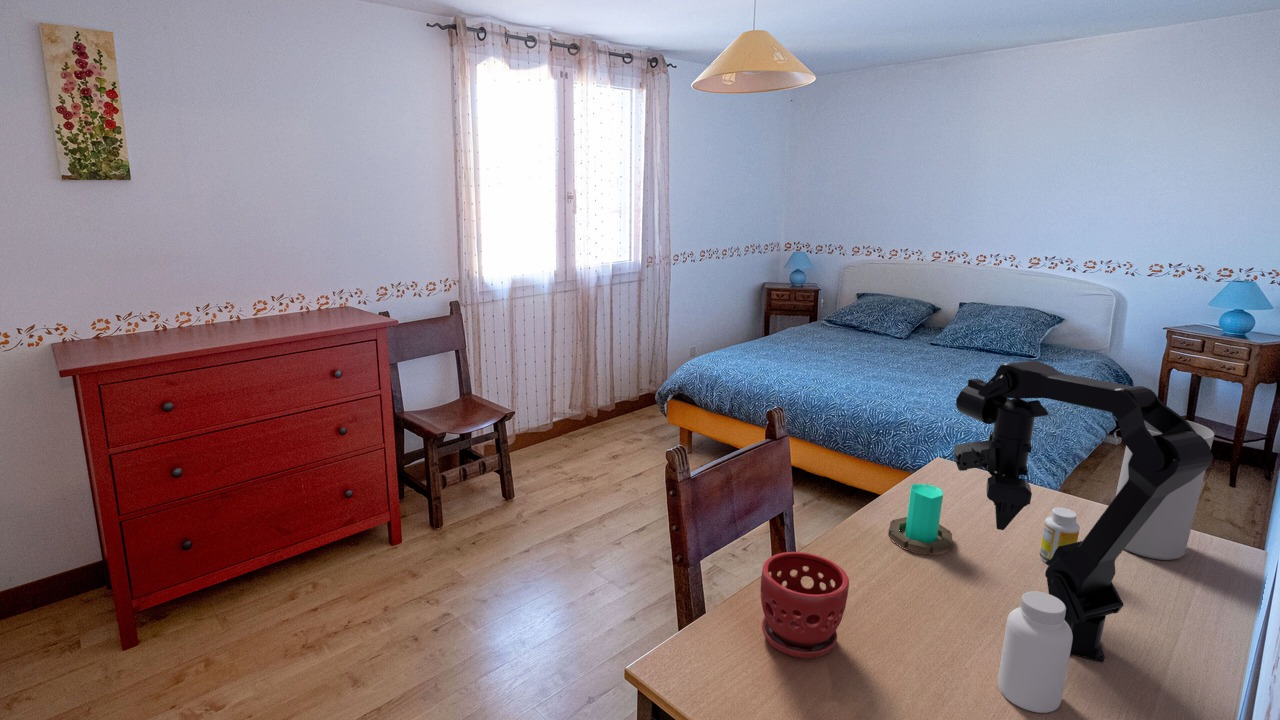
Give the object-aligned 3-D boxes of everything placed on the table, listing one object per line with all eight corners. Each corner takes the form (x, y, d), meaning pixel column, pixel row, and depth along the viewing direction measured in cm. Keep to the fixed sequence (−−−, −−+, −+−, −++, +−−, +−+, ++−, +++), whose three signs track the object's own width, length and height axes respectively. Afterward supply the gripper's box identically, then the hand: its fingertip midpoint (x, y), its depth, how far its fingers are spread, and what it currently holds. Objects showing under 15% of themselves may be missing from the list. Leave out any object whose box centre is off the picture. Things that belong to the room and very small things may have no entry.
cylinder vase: (1188, 568, 129) (1219, 444, 122) (1108, 549, 135) (1133, 430, 128) (1180, 539, 139) (1208, 422, 132) (1106, 522, 146) (1129, 410, 139)
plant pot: (840, 675, 102) (847, 604, 99) (751, 655, 106) (755, 586, 103) (845, 621, 114) (851, 557, 110) (764, 605, 118) (768, 542, 115)
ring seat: (951, 560, 131) (953, 553, 131) (885, 546, 136) (886, 539, 136) (952, 531, 142) (953, 524, 142) (890, 519, 147) (891, 512, 146)
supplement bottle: (1077, 562, 131) (1087, 513, 128) (1065, 572, 128) (1075, 522, 125) (1045, 549, 135) (1054, 502, 132) (1033, 559, 132) (1042, 511, 129)
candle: (901, 539, 138) (907, 484, 135) (909, 526, 143) (915, 473, 139) (932, 548, 135) (940, 492, 131) (940, 535, 139) (947, 481, 136)
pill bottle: (1003, 666, 104) (1018, 578, 100) (1065, 691, 99) (1083, 599, 95) (989, 696, 98) (1005, 604, 94) (1054, 724, 93) (1073, 628, 89)
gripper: (959, 409, 128) (949, 486, 132) (960, 445, 112) (948, 532, 116) (1027, 418, 124) (1014, 497, 128) (1038, 457, 107) (1023, 547, 112)
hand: (998, 517), depth 121 cm, fingers open, 9 cm apart
